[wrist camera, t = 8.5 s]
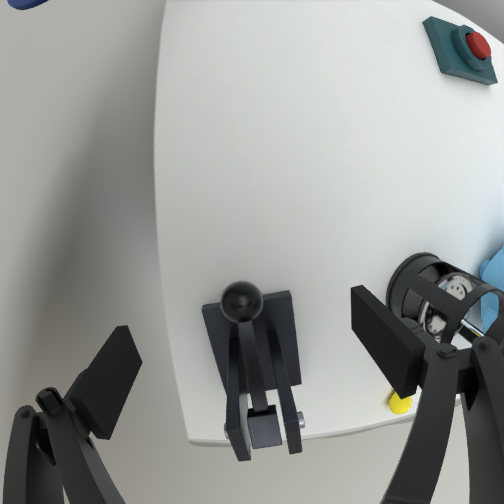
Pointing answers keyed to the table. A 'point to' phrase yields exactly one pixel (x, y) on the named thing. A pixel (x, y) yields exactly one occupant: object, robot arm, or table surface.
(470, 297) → the french press
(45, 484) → the robot arm
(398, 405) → the light bulb
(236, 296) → the switch lever
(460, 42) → the button box
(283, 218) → the table surface
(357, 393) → the table surface
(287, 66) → the table surface
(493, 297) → the teapot
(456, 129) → the table surface
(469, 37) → the stop button
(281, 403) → the ball knob lever stand
